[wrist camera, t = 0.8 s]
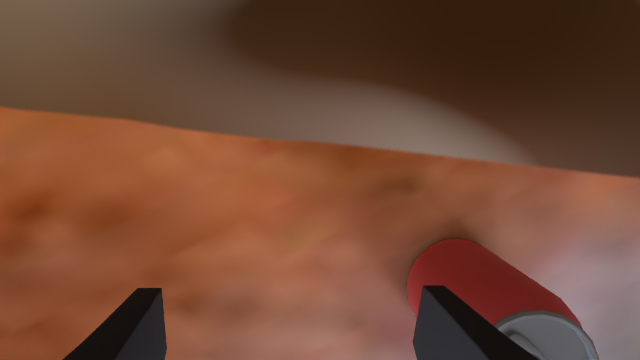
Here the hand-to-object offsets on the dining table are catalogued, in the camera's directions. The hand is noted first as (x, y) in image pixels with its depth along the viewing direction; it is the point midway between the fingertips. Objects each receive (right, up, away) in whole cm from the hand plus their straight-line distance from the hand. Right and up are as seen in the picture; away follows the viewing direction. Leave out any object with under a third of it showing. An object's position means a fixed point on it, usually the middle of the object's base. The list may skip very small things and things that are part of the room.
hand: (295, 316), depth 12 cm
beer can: (+10, -3, +19) cm, 21 cm away
